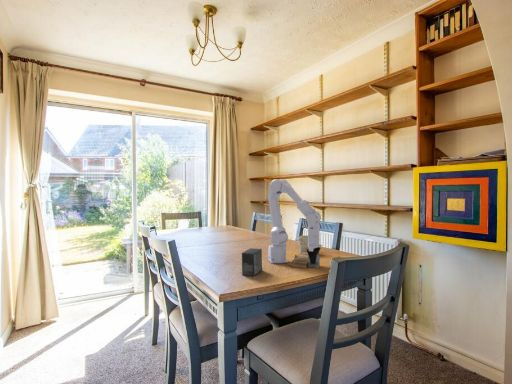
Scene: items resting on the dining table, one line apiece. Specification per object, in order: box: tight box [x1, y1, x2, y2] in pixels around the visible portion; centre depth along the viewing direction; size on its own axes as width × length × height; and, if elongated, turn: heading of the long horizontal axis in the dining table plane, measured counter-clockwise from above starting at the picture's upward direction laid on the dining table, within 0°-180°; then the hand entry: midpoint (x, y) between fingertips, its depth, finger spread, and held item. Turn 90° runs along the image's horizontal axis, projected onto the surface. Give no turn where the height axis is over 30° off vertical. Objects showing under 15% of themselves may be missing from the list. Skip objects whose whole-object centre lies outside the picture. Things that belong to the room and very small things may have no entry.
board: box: [290, 252, 308, 269], centre depth 154 cm, size 24×8×2 cm, turn 158°
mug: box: [297, 235, 309, 254], centre depth 175 cm, size 8×13×10 cm, turn 127°
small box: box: [241, 247, 263, 277], centre depth 135 cm, size 11×6×10 cm, turn 159°
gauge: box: [293, 253, 321, 269], centre depth 146 cm, size 4×12×6 cm, turn 68°
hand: (313, 262), depth 145 cm, fingers closed on gauge, 4 cm apart
